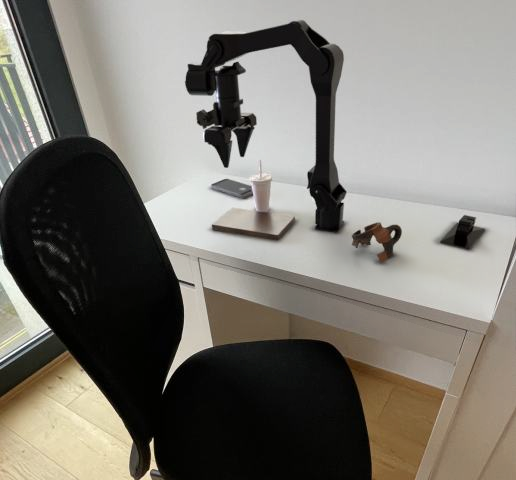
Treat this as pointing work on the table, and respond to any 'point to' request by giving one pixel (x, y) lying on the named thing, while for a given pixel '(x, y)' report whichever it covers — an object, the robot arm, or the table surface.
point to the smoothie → (261, 190)
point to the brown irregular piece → (378, 238)
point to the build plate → (463, 233)
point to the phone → (233, 188)
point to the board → (254, 223)
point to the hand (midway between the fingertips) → (234, 162)
